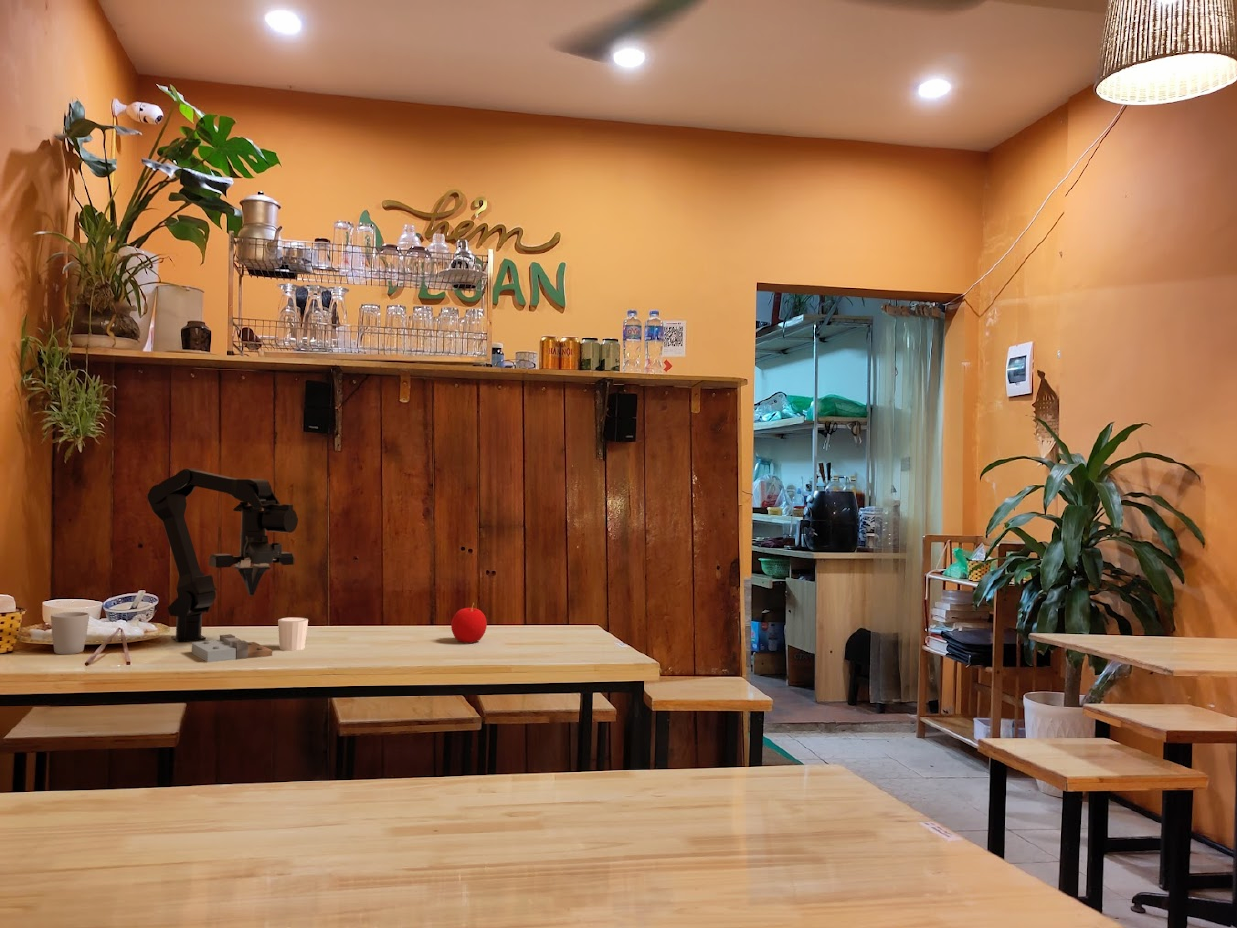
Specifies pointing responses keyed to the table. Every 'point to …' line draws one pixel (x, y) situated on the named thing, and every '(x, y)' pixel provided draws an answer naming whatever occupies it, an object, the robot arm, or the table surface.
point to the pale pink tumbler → (292, 633)
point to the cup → (69, 631)
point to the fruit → (469, 625)
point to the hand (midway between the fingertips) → (251, 595)
